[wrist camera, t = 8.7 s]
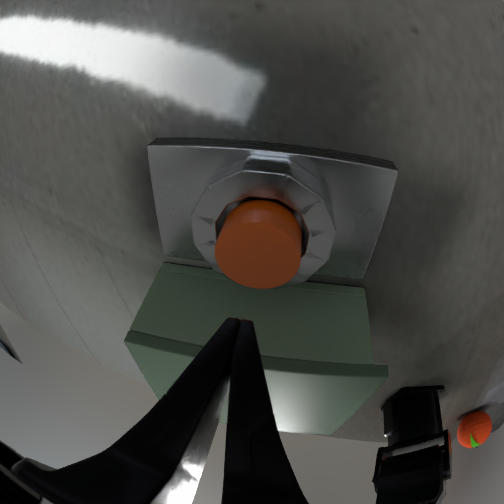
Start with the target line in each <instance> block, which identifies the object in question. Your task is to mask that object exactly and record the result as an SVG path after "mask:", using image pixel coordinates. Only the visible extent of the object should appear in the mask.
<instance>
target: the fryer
mask: <svg viewBox="0 0 504 504" xmlns="http://www.w3.org/2000/svg"><path fill="white" fill-rule="evenodd" d="M365 296H366V295H365V289H364V288H360V287H351V286H342V285H333V284H324V283H316V282H307V281H305V282H302V283H299V284H295V285H291V286H287V287H283V288H280V289H276V290H275V289H257V288H250V287H246V286H243V285H240V284H238V283H236V282H234V281H232V280H230V279H229V278H227V277H225V276H223V275H221V274H219V273H218V272H216V271H214V270H213V269H206V268H199V267H192V266H185V265H178V264H171V263H163V264H162V266H161V268H160V271H159V272H158V274H157V276H156V278H155V279H154V281H153V283H152V285H151V287H150V289H149V291H148V293H147V295H146V297H145V299H144V301H143V303H142V305H141V307H140V309H139V311H138V313H137V315H136V317H135V319H134V321H133V323H132V325H131V327H130V331H133V332H137V333H141V334H145V335H149V336H154V337H158V338H163V339H167V340H172V341H177V342H181V343H186V344H192V345H197V346H202V347H204V346H205V344H206V343H207V342H208V341H209V340H210V338H211V337H212V336H213V335H214V333H215V332H216V331H217V330H218V328H219V327H220V326H221V325H222V323H223V322H224V321H225V320H226V319H227V318H228V317H232V318H238V319H240V320H241V319H246V320H252V321H253V323H254V328H255V332H256V337H257V341H258V346H259V350H260V355H261V356H266V357H274V358H283V359H292V360H302V361H313V362H326V363H341V364H360V365H374V357H373V348H372V339H371V331H370V323H369V316H368V309H367V302H366V297H365Z"/></svg>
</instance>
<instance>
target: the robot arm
mask: <svg viewBox="0 0 504 504" xmlns="http://www.w3.org/2000/svg"><path fill="white" fill-rule="evenodd" d="M444 390H445V388H444V386H441V387H427V388H405V389H401V390H400V391H399V392H398V393H397V394H396V395H395V396H393V397H392V398H391V399H390V400H389V401H388V402H387V403H386V404H385V405H384V406H383V407H382V408H381V411H382V412H383V414H384V435H385V436H386V437H387V436H388V447H380V448H379V449H378V453H377V459H376V466H375V472H374V477H373V480H372V484H373V485H374V486H375V491H376V493H377V499H376V504H441V502H442V500H443V499H444V497H445V495H446V480H448V479H451V475H452V449H451V439H450V434H449V431H448V429H447V430H444V431H443V427H442V419H441V411H440V404H439V397H438V396H439V395H440V394H441V393H442V392H443V391H444ZM228 391H229V399H228V415H227V431H226V448H225V463H224V480H223V493H222V502H221V504H309V503H308V502H307V500H306V498H305V496H304V495H303V493H302V491H301V489H300V486H299V484H298V482H297V480H296V477H295V475H294V472H293V470H292V468H291V465H290V463H289V460H288V458H287V455H286V453H285V450H284V447H283V445H282V442H281V439H280V436H279V432H278V428H277V425H276V420H275V416H274V414H273V408H272V404H271V399H270V395H269V390H268V386H267V382H266V377H265V373H264V368H263V364H262V359H261V355H260V350H259V346H258V341H257V337H256V332H255V328H254V323H253V321H252V320H246V319H241V320H240V319H238V318H232V317H228V318H227V319H226V320H225V321H224V322H223V323H222V325H221V326H220V327H219V328H218V330H217V331H216V332H215V333H214V335H213V336H212V337H211V338H210V340H209V341H208V342H207V343H206V344H205V346H204V347H203V348H202V349H201V351H200V352H199V353H198V354H197V355H196V357H195V358H194V359H193V360H192V362H191V363H190V364H189V365H188V366H187V368H186V369H185V370H184V371H183V372H182V374H181V375H180V376H179V377H178V379H177V380H176V381H175V382H174V383H173V385H172V386H171V387H170V388H169V389H168V391H167V392H166V394H164V395H163V396H162V398H161V399H160V400H159V401H158V402H157V403H156V405H155V406H154V407H153V408H152V409H151V410H150V411H149V412H148V413H147V414H146V415H145V416H144V417H143V418H142V419H141V420H140V421H139V422H138V423H137V424H136V425H134V426H133V427H132V428H131V429H130V430H129V431H128V432H127V433H126V434H124V435H123V436H122V437H121V438H120V439H119V440H117V441H116V442H115V443H114V444H113V445H112V446H110V447H109V448H107V449H106V450H104V451H103V452H101V453H99V454H97V455H94V456H92V457H89V458H87V459H85V460H82V461H79V462H77V463H74V464H71V465H68V466H66V467H63V468H60V469H55V468H52V467H49V466H47V465H44V464H42V463H39V462H38V461H35V460H33V459H30V458H24V457H23V456H21V455H20V454H19V453H17V452H16V451H15V450H13V449H12V448H11V447H9V446H8V445H6V444H5V443H3V442H2V441H0V504H191V503H192V500H193V497H194V494H195V491H196V488H197V485H198V483H199V480H200V479H199V478H200V477H201V473H202V470H203V468H204V465H205V462H206V459H207V456H208V453H209V450H210V447H211V444H212V441H213V437H214V435H215V432H216V429H217V426H218V423H219V419H220V416H221V413H222V410H223V407H224V404H225V401H226V398H227V395H228ZM443 442H444V445H442V446H439V444H440V443H443ZM433 445H434V446H433ZM430 446H431V447H430ZM426 447H427V448H426ZM423 448H424V449H423ZM419 449H420V450H419ZM415 450H416V451H415ZM411 451H412V452H411ZM407 452H408V453H407ZM403 453H404V454H403ZM399 454H400V455H399ZM394 455H395V456H394Z"/></svg>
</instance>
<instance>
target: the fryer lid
mask: <svg viewBox="0 0 504 504" xmlns="http://www.w3.org/2000/svg"><path fill="white" fill-rule="evenodd" d="M124 342H125V344H126V346H127V348H128V349H129V351H130V353H131V355H132V357H133V358H134V360H135V362H136V364H137V365H138V367H139V369H140V370H141V372H142V374H143V375H144V377H145V379H146V380H147V382H148V383H149V385H150V387H151V388H152V390H153V391H154V393H155V394H156V396H157V398H158V399H159V400H160V399H161V398H162V396H163V395H164V394H166V392H167V391H168V389H169V388H170V387H171V386H172V385H173V383H174V382H175V381H176V380H177V379H178V377H179V376H180V375H181V374H182V372H183V371H184V370H185V369H186V368H187V366H188V365H189V364H190V363H191V362H192V360H193V359H194V358H195V357H196V355H197V354H198V353H199V352H200V351H201V349H202V348H203V347H202V346H197V345H192V344H186V343H181V342H177V341H172V340H167V339H163V338H158V337H154V336H149V335H145V334H141V333H137V332H133V331H128V333H127V335H126V338H125V340H124ZM261 359H262V364H263V368H264V373H265V377H266V382H267V386H268V390H269V395H270V399H271V404H272V408H273V414H274V416H275V420H276V425H277V428H278V431H282V432H294V433H309V434H333V433H334V432H335V431H336V430H337V429H338V428H340V427H341V426H342V425H343V424H344V423H345V422H346V421H347V420H348V419H349V418H350V417H351V416H352V415H353V414H354V413H355V412H356V411H357V410H358V409H359V408H360V407H361V406H362V405H363V404H364V403H365V402H366V401H367V400H368V399H369V398H370V397H371V396H372V395H373V394H374V393H375V392H376V391H377V390H378V389H379V387H380V386H381V385H382V384H383V383H384V382H385V381H386V380H387V379H388V377H389V375H388V366H387V365H360V364H341V363H326V362H313V361H302V360H292V359H283V358H274V357H266V356H261ZM228 399H229V391H228V395H227V398H226V401H225V404H224V407H223V410H222V413H221V416H220V419H219V423H223V424H227V415H228Z"/></svg>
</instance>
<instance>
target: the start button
mask: <svg viewBox="0 0 504 504" xmlns="http://www.w3.org/2000/svg"><path fill="white" fill-rule="evenodd" d="M301 238H302V234H301V228H300V225H299V222H298V221H297V219H296V218H295V216H294V215H293V214H292V213H291V212H290V211H289V210H288V209H286V208H285V207H283V206H281V205H279V204H277V203H274V202H271V201H266V200H253V201H248V202H245V203H242V204H240V205H238V206H237V207H235V208H234V209H233V210H232V211H231V212H230V213H229V214H228V216H227V217H226V219H225V222H224V224H223V227H222V229H221V232H220V234H219V237H218V239H217V242H216V244H215V258H216V262H217V264H218V266H219V267H220V269H221V270H222V271H223V273H224V274H225V275H226V276H227V277H229V278H230V279H231V280H233V281H235V282H237V283H239V284H241V285H243V286H246V287H250V288H257V289H268V288H274V287H278V286H280V285H283V284H285V283H286V282H288V281H289V280H291V279H292V278H293V277H294V276H295V274H296V273H297V271H298V269H299V267H300V263H301Z"/></svg>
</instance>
